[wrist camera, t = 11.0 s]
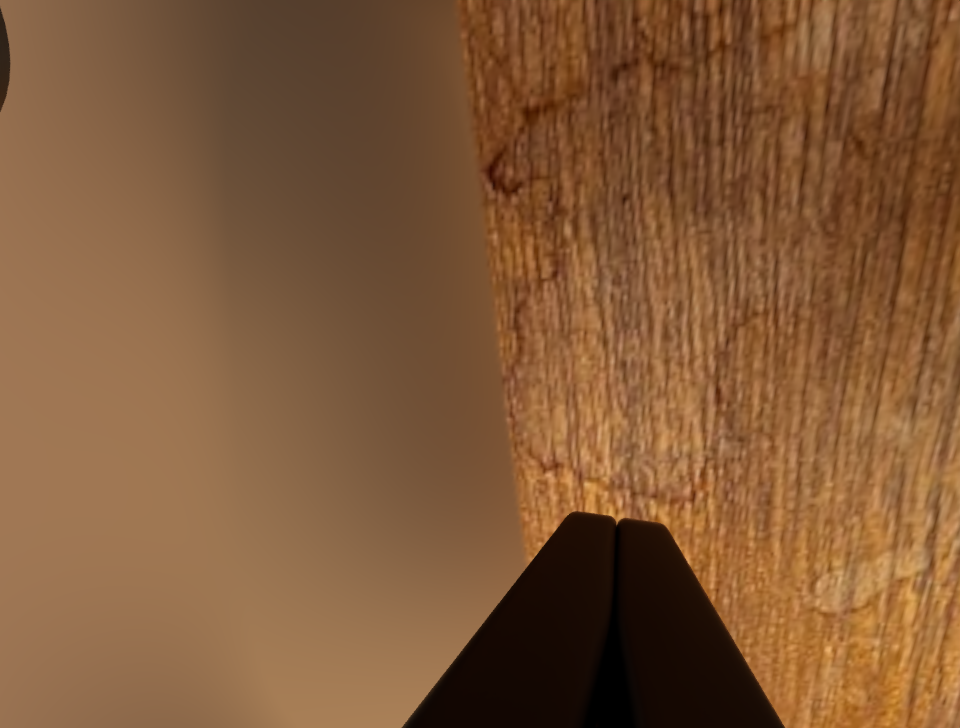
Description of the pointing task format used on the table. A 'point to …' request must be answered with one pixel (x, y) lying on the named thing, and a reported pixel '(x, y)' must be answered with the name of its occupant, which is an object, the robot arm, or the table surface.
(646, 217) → the table surface
